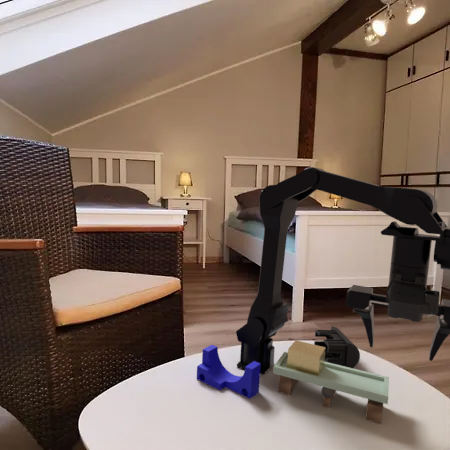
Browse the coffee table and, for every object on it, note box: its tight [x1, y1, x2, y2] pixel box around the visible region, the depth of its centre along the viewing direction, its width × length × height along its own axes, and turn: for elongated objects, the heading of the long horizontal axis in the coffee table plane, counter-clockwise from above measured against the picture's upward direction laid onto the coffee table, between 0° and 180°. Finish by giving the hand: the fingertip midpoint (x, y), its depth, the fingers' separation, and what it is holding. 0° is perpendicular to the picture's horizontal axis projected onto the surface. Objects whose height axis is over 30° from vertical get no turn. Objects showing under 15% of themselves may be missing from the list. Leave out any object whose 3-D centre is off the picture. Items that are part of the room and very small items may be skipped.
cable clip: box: [196, 344, 261, 400], centre depth 72 cm, size 12×4×6 cm, turn 53°
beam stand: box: [277, 375, 384, 425], centre depth 69 cm, size 18×7×4 cm, turn 63°
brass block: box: [287, 340, 326, 376], centre depth 71 cm, size 6×5×4 cm
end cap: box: [313, 325, 361, 369], centre depth 84 cm, size 10×7×7 cm
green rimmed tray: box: [273, 351, 390, 405], centre depth 69 cm, size 20×7×2 cm, turn 65°
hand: (400, 353), depth 63 cm, fingers open, 9 cm apart
